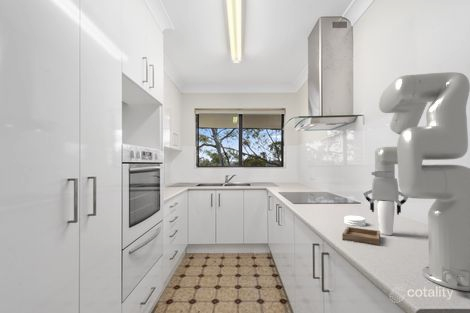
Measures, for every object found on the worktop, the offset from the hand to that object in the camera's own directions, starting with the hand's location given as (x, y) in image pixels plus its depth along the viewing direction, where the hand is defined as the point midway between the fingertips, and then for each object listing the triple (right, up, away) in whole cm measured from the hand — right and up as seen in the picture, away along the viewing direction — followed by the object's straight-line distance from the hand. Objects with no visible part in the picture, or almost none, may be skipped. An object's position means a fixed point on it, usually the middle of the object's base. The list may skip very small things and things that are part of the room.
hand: (385, 212), depth 109 cm
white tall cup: (0, -10, -1) cm, 10 cm away
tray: (-14, -9, -7) cm, 18 cm away
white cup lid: (-5, -10, +17) cm, 20 cm away
